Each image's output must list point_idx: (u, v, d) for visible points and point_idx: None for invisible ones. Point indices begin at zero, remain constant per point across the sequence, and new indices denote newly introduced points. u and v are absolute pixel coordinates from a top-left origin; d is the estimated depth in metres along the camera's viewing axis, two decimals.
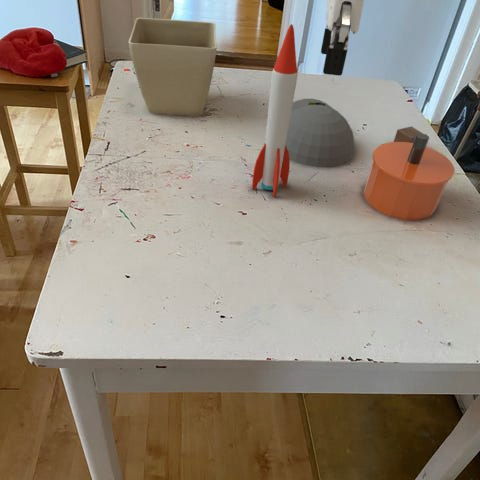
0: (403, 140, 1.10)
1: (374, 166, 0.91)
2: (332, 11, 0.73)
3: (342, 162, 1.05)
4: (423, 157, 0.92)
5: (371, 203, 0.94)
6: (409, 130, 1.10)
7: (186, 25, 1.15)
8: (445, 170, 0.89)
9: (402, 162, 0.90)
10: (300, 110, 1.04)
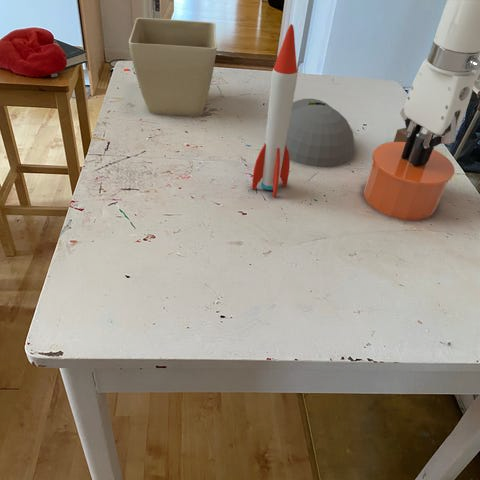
0: (403, 140, 1.10)
1: (374, 166, 0.91)
2: (445, 120, 0.80)
3: (342, 162, 1.05)
4: None
5: (371, 203, 0.94)
6: None
7: (186, 25, 1.15)
8: (445, 170, 0.89)
9: (402, 162, 0.90)
10: (300, 110, 1.04)
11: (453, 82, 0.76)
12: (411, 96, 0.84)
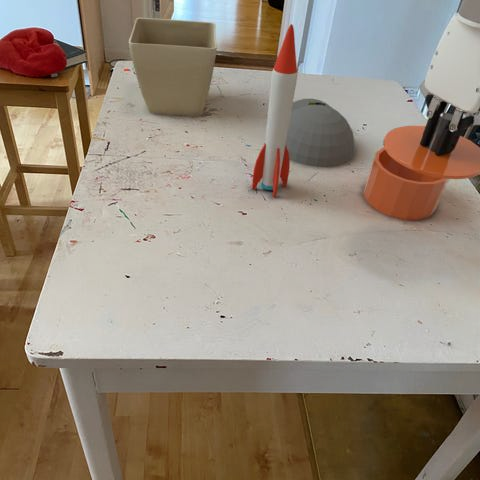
0: None
1: (374, 166, 0.91)
2: None
3: (342, 162, 1.05)
4: None
5: (371, 203, 0.94)
6: None
7: (186, 25, 1.15)
8: (476, 160, 0.70)
9: (422, 150, 0.71)
10: (300, 110, 1.04)
11: None
12: (435, 64, 0.65)
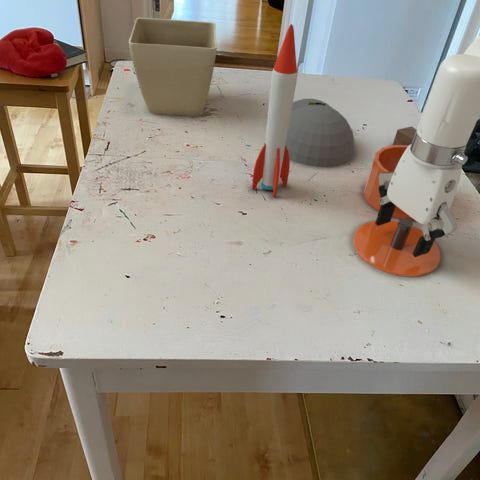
0: (403, 140, 1.10)
1: (374, 166, 0.91)
2: (430, 212, 0.74)
3: (342, 162, 1.05)
4: (407, 240, 0.87)
5: (371, 203, 0.94)
6: (409, 130, 1.10)
7: (186, 25, 1.15)
8: (430, 257, 0.84)
9: (385, 247, 0.85)
10: (300, 110, 1.04)
11: (437, 176, 0.71)
12: (394, 181, 0.78)
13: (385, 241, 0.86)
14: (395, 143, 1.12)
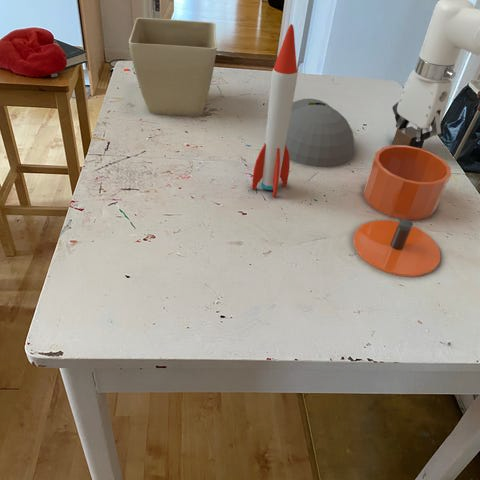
0: (403, 140, 1.10)
1: (374, 166, 0.91)
2: (429, 117, 1.02)
3: (342, 162, 1.05)
4: (407, 240, 0.87)
5: (371, 203, 0.94)
6: (409, 130, 1.10)
7: (186, 25, 1.15)
8: (430, 257, 0.84)
9: (385, 247, 0.85)
10: (300, 110, 1.04)
11: (434, 88, 0.98)
12: (402, 98, 1.06)
13: (385, 241, 0.86)
14: (395, 143, 1.12)
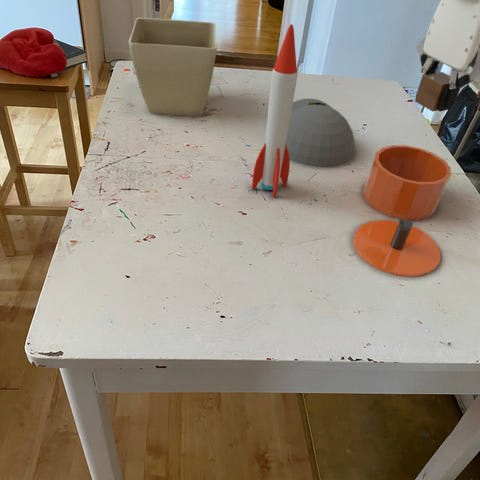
0: (431, 89, 0.82)
1: (374, 166, 0.91)
2: (469, 53, 0.75)
3: (342, 162, 1.05)
4: (407, 240, 0.87)
5: (371, 203, 0.94)
6: (439, 76, 0.83)
7: (186, 25, 1.15)
8: (430, 257, 0.84)
9: (385, 247, 0.85)
10: (300, 110, 1.04)
11: (478, 8, 0.71)
12: (432, 30, 0.79)
13: (385, 241, 0.86)
14: (420, 94, 0.85)
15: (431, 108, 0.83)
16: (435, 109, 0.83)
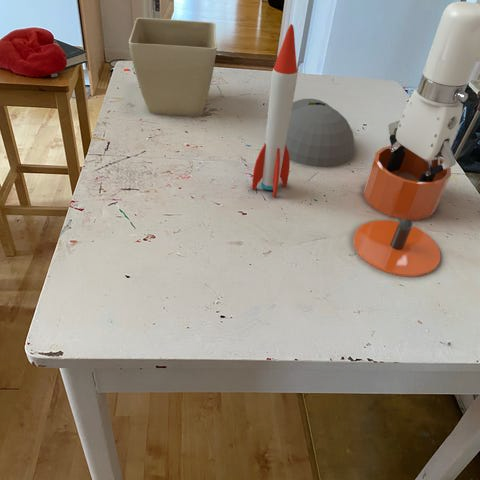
0: None
1: (374, 166, 0.91)
2: (434, 148, 0.84)
3: (342, 162, 1.05)
4: (407, 240, 0.87)
5: (371, 203, 0.94)
6: (404, 177, 0.94)
7: (186, 25, 1.15)
8: (430, 257, 0.84)
9: (385, 247, 0.85)
10: (300, 110, 1.04)
11: (441, 113, 0.80)
12: (402, 123, 0.88)
13: (385, 241, 0.86)
14: None
15: None
16: None
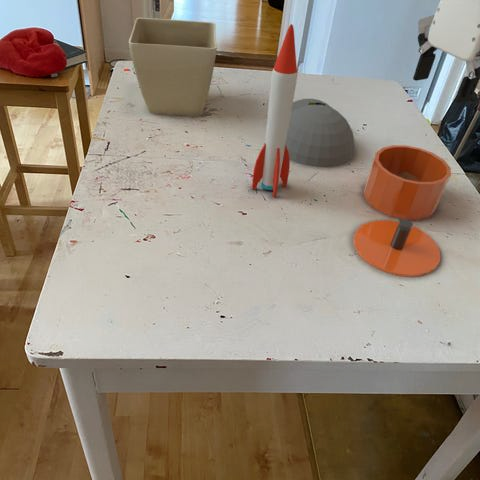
0: None
1: (374, 166, 0.91)
2: (477, 42, 0.71)
3: (342, 162, 1.05)
4: (407, 240, 0.87)
5: (371, 203, 0.94)
6: (404, 177, 0.94)
7: (186, 25, 1.15)
8: (430, 257, 0.84)
9: (385, 247, 0.85)
10: (300, 110, 1.04)
11: None
12: (437, 19, 0.75)
13: (385, 241, 0.86)
14: None
15: None
16: None
